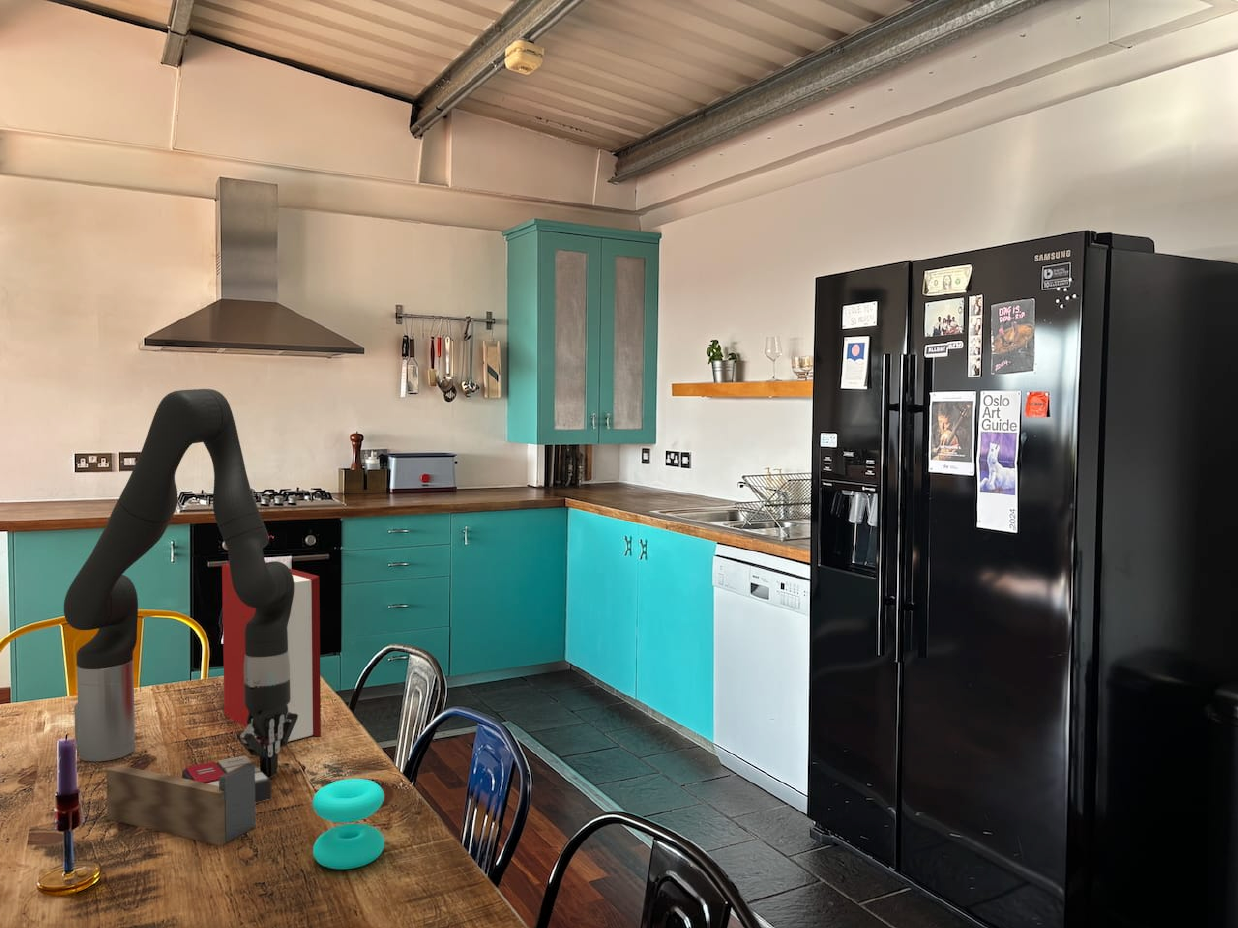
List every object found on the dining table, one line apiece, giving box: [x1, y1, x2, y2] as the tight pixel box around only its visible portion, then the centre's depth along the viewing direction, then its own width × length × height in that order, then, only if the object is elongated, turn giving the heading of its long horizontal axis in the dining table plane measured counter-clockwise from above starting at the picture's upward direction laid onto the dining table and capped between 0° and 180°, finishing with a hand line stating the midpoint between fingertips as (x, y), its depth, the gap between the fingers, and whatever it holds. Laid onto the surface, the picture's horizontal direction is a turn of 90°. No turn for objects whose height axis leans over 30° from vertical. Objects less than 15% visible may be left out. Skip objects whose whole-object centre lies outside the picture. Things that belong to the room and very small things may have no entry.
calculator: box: [181, 755, 272, 802], centre depth 159 cm, size 11×4×15 cm
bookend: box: [219, 762, 257, 844], centre depth 143 cm, size 1×6×10 cm, turn 158°
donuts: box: [312, 778, 385, 870], centre depth 136 cm, size 10×10×10 cm
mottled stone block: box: [105, 764, 227, 847], centre depth 147 cm, size 23×7×8 cm, turn 68°
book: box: [221, 561, 322, 748], centre depth 191 cm, size 27×8×32 cm, turn 46°
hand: (269, 775), depth 164 cm, fingers closed
